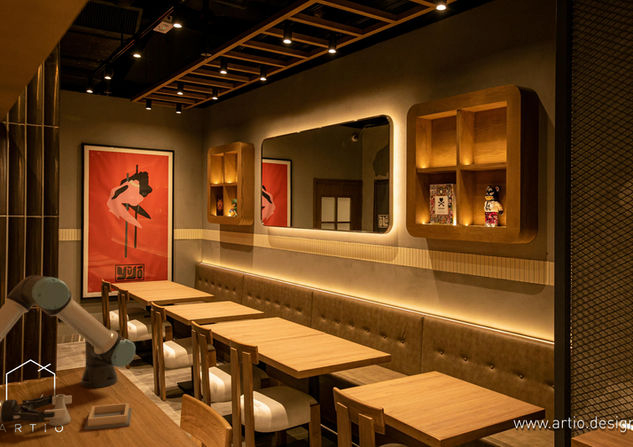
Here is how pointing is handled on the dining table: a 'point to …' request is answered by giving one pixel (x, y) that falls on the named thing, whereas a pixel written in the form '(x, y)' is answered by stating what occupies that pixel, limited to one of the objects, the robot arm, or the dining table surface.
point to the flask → (60, 405)
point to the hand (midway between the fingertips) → (68, 405)
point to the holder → (109, 416)
